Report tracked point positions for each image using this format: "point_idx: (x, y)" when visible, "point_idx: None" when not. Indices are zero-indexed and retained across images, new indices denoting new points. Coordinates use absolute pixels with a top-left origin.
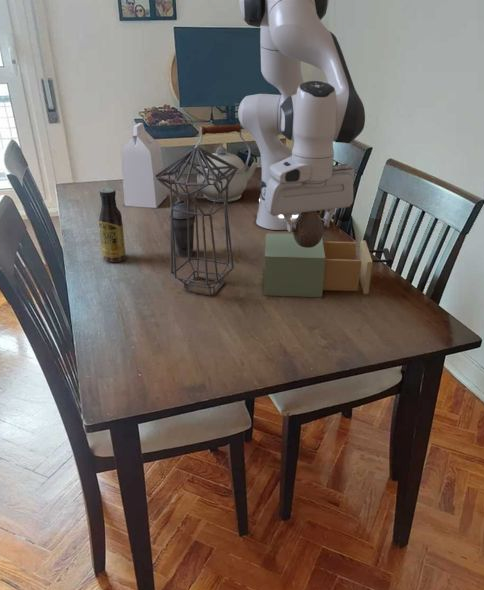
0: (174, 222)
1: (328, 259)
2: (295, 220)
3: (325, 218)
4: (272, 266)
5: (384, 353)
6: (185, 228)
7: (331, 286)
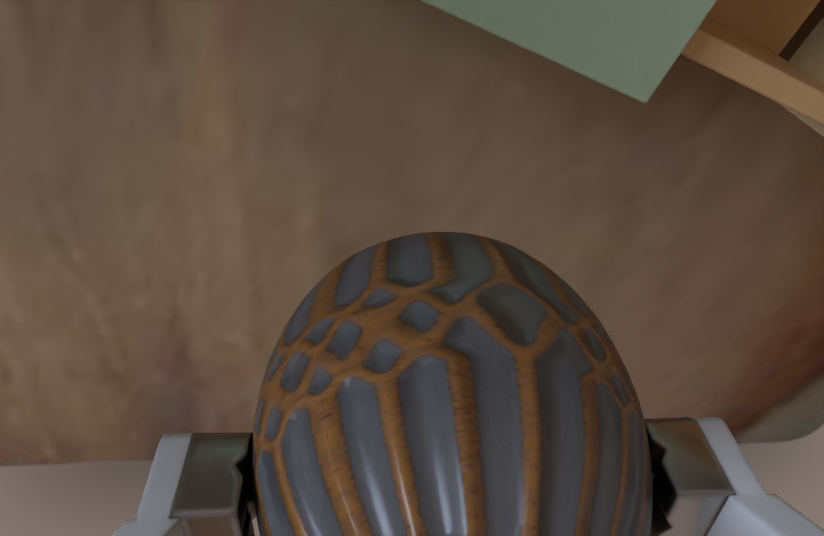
0: None
1: (696, 45)
2: (270, 528)
3: (722, 529)
4: None
5: None
6: None
7: None
